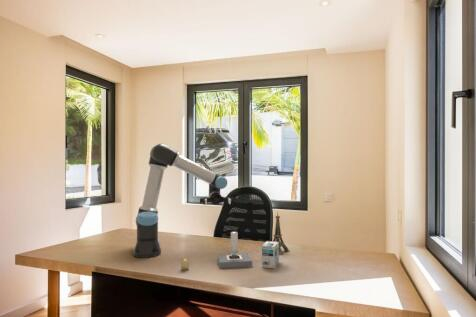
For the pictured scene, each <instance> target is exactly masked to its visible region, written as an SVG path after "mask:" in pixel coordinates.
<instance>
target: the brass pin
mask: <svg viewBox="0 0 476 317" xmlns="http://www.w3.org/2000/svg"><path fill="white" fill-rule="evenodd" d="M189 260H190V259H189V258H181V259H180V271H182V272H188V271H189V262H190V261H189Z"/></svg>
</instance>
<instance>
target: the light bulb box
mask: <svg viewBox="0 0 476 317" xmlns="http://www.w3.org/2000/svg"><path fill="white" fill-rule="evenodd" d="M261 254H262V255H261V260H262V261H261V264H262V268H267V269H268V268H269V269H276V267H277V266H278V265H279V263H280V255H279V242H273V241H270V240H266V241H265V242H264V243H263V244H262V246H261Z"/></svg>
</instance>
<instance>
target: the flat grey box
mask: <svg viewBox="0 0 476 317" xmlns="http://www.w3.org/2000/svg"><path fill="white" fill-rule="evenodd" d="M217 261H218V262H217V263H218V266H219V269H223V270H224V269H235V268H236V269H237V268H238V269H239V268H252V267H253V260H252V259H251V257H250V256H249V254H248V253H247V252H246V253H245V252H244V253H238V259H231V253H226V254H224V253H223V254H219V253H218V254H217Z"/></svg>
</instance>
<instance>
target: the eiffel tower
mask: <svg viewBox="0 0 476 317" xmlns="http://www.w3.org/2000/svg"><path fill="white" fill-rule="evenodd" d="M274 217H275V220H276V221H275V229H274V234H273V241H272V242H279V256H283V255H284V252H285V253H290V252H289V251H290V249H289V248H288V247H287V245H285V242H284V240H283V238H282V237H283V234H282V231H281V224H280V218H281V216H280V215H279V211H277V215H275V216H274ZM282 249H283V250H282Z"/></svg>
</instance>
